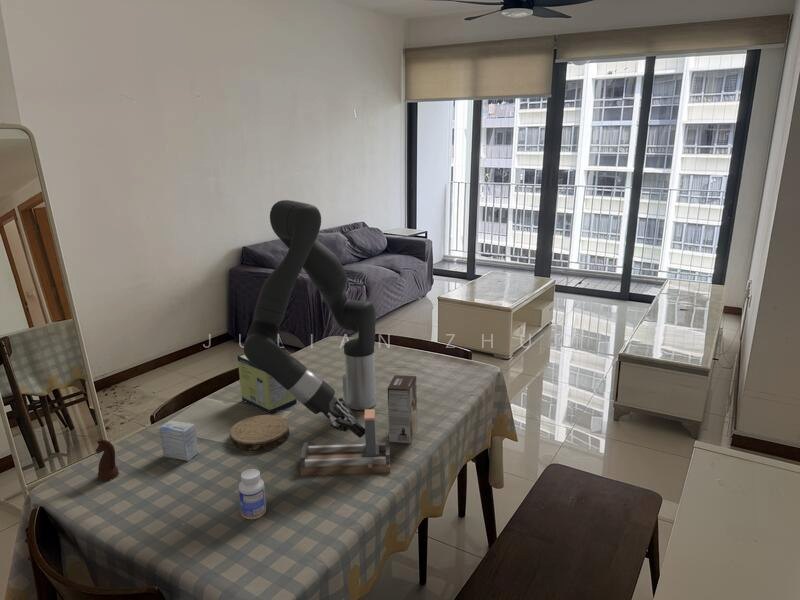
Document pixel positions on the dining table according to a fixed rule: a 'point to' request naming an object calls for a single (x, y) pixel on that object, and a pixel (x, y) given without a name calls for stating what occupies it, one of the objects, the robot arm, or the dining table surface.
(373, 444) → the fader tab
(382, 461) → the board
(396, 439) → the coffee box
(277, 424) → the brown round disc
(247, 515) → the pill bottle
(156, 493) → the dining table surface
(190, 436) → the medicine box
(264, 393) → the protein box
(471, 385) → the dining table surface
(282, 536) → the dining table surface
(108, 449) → the chess piece
